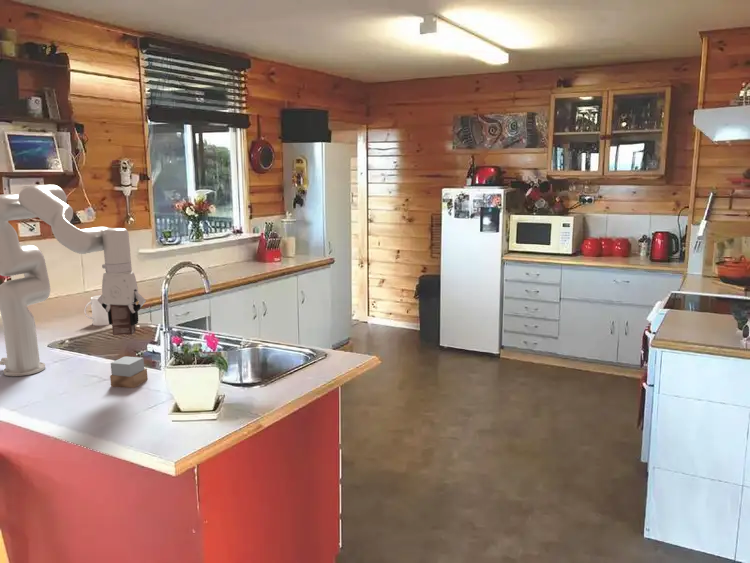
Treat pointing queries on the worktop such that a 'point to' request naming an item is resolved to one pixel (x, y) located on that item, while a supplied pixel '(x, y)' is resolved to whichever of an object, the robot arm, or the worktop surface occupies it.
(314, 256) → the worktop surface
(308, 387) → the worktop surface
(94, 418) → the worktop surface
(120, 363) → the tower top
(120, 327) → the box
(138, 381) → the tower base
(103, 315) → the mug
